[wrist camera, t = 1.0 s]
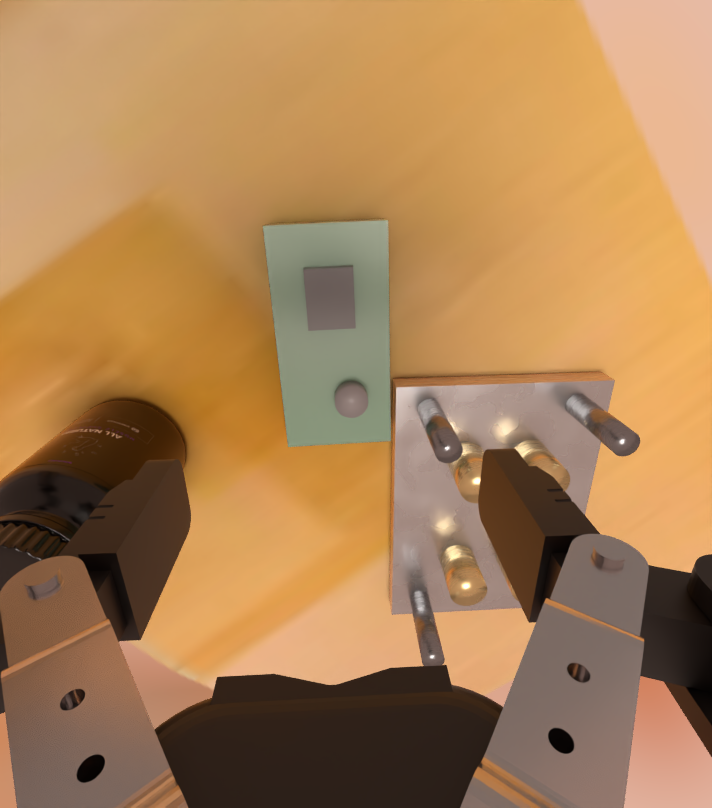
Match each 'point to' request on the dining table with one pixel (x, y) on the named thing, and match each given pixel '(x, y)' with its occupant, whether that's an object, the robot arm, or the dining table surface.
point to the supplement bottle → (77, 478)
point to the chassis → (461, 472)
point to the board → (332, 329)
